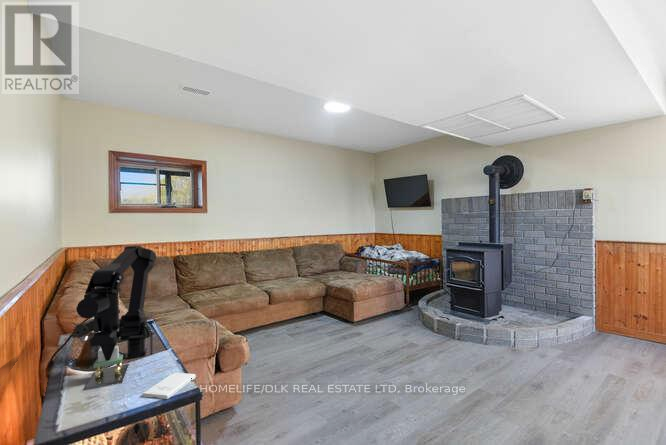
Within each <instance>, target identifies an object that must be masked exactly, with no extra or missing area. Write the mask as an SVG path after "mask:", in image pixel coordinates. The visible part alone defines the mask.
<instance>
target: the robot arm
mask: <svg viewBox="0 0 666 445" xmlns="http://www.w3.org/2000/svg"><path fill="white" fill-rule="evenodd" d="M156 260H157V253H156V252H155V251H153V250H152V249H148V248H145V247H142V246H141V245H128V246H125V247H124V248H123V251H121V253H119V255H118V256H116V258H114V260H113V261H111V262H110V263H109V264H108V265H105V266H102V267H100V268H98V269H96V270H94V272H93V273H92V275H91V277H90V279H89V282H88V285H87V287H86V289H85V292H84V295H83V298H82V299H81V300H80V301H79V302H78V304H77V306H76V313H77V315H78V316H79V317H81V318H82V319H89V320H86V321H84V322H83V321H82V322H80V323H77V324H76V325H75V327H74V328H72V331H73V332H72V333H73V335H75V336H76V338H77V339H79V338H82V337H83V336H85V335H87V334H89V333H91V332H93V333H94V334H93V335H92V336H91V337H90V338H89V339H88V347H91V348H93V347H98V346H99V347H100V348H101V349H102V352H103V354H104V357H105V360H106V361H107V360H110V359H111V356H112V353H113V351H114V348H115V346H118V343H119V340H120V341H121V342H122V341H126V345H127V346H126V351H127V352H126V354H125V357H124V359H126V360H127V359H133V358H139V357H144V356H146V355H147V352H148V348H146V339H148V338H150V337H151V335H152V328H151V327H150V325H149V323H148V322H147V320H148V317H147V315H146V314H145V312H144V308H145V307H144V306H145V300H146V292H147V286H148V285H147V284H148V277H149V273H150V272H151V271H152V269H153V268H154V266H155V263H156ZM130 267H131V269H132V271H133V277H132V283H131V289H130V290H131V291H130V296H129V303H128V309H127V311H126V313H125V314H123V315H121V317H120V314H121V309H120V306H119V302H120V301H119V298H120V297H119V293H121V292H122V289H121V288H120V287H121V286H120V285H121V284H122V282H123V281H124V279H125V277H124V274H125V272H126V271H127V270H128V269H129V268H130Z"/></svg>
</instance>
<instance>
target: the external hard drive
mask: <svg viewBox="0 0 666 445" xmlns="http://www.w3.org/2000/svg"><path fill="white" fill-rule="evenodd" d="M196 377H197V375H196V374H195V373H185V372H172V373H170V374H169V375H167V377H164V379H162V380H160V381H159V382H157V383H156V384H154V385H153V386H151V387H150V388H148V389H147V390H145V391H144V392H142V394H141V397H146V398H157V399H162V400H163V399H164V400H165V399H166V400H168V399H170V398H171V397H173V396H174V395H175V394H176V393H177V392H179V391H180V390H182V389H183V388H184V387H186V385H188V384H190V383H191V382H192V381H193V380H195V379H196ZM191 378H192V379H191ZM191 380H192V381H191Z"/></svg>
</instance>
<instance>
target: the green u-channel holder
mask: <svg viewBox="0 0 666 445" xmlns="http://www.w3.org/2000/svg"><path fill="white" fill-rule="evenodd" d="M119 351H120V350H119V345H118V344H117V345H116V346H115V348H114V351H113V353H112V356H111V359H110V360H107V361H106V360H105V357H104V354H103V352H102V349H101V347H100V348H99V349H98V351H97V354H98V355H97V358H96V360H95V362H94V363H93V369H96V368H98V367H102V366H103V367H108V366H113V365H117V364H118V363H121V362H122V361H123V358H124V354H121V353H120V352H119ZM122 363H123V362H122Z"/></svg>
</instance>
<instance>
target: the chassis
mask: <svg viewBox="0 0 666 445" xmlns="http://www.w3.org/2000/svg"><path fill="white" fill-rule="evenodd" d="M128 366H129V367H130V364H129V363H126V364H123V362H121V363H118V364H116V365H114V366H113V365H112V366H109V367H108V366H107V367H104V366H102V367H97V369H96V370H95V371H94V373H93V375H92V377H91V378H90V380H89V381H88V382H87V385H86V386H85V391H89V390H93V389H97V388H103V387H108V386H113V385H112V384H114V385H117V383H119V384H123V383H124V380H125V378H124V376H125V377H126V375H125V374H127V372H128V370H127V368H128V369H129V367H128ZM126 371H127V372H126ZM123 379H124V380H123ZM122 382H123V383H122Z"/></svg>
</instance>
